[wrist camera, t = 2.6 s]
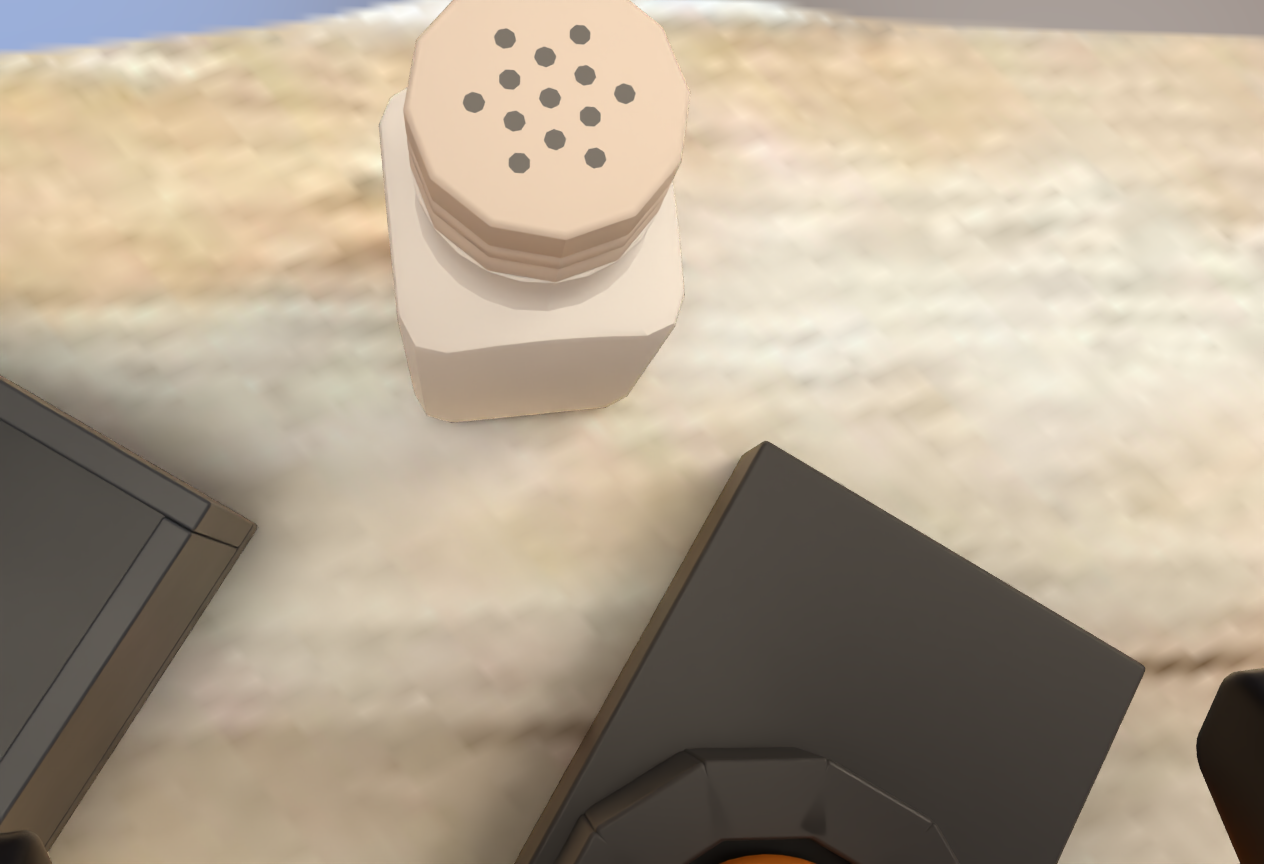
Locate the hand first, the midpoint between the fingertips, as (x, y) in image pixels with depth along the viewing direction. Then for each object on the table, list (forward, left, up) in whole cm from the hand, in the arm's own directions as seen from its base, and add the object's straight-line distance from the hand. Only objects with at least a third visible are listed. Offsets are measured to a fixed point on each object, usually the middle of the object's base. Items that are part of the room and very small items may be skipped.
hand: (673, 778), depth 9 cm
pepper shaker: (+6, +4, -13) cm, 15 cm away
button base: (0, -5, -13) cm, 14 cm away
